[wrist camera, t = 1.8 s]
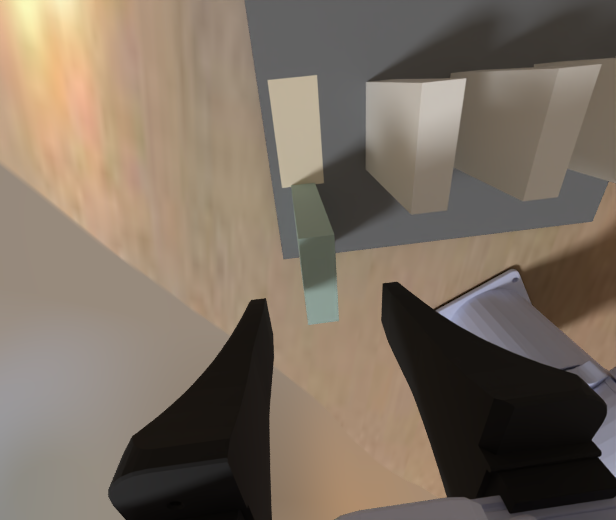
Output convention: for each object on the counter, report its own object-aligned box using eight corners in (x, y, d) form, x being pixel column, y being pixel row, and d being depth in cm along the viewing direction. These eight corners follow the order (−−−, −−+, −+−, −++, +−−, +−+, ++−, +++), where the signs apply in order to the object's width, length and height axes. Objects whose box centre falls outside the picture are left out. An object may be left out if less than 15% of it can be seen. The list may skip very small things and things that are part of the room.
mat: (710, -91, 16) (720, -95, 15) (588, 219, 24) (592, 221, 24) (237, -48, 15) (237, -51, 15) (283, 256, 24) (283, 259, 23)
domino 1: (314, 182, 21) (334, 234, 14) (320, 248, 23) (338, 320, 16) (290, 185, 20) (298, 239, 14) (298, 251, 23) (308, 324, 16)
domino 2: (393, 79, 18) (466, 78, 11) (389, 166, 20) (447, 210, 14) (365, 82, 18) (422, 83, 11) (365, 169, 20) (410, 214, 14)
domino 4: (560, 61, 18) (733, 49, 11) (536, 149, 21) (665, 184, 14) (534, 64, 18) (691, 54, 11) (513, 152, 21) (631, 188, 14)
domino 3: (477, 70, 18) (602, 63, 11) (463, 158, 21) (557, 197, 14) (450, 73, 18) (558, 68, 11) (439, 160, 21) (522, 201, 14)
